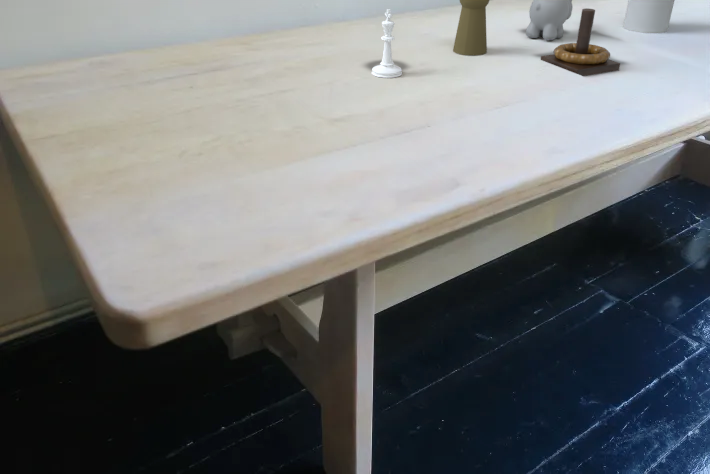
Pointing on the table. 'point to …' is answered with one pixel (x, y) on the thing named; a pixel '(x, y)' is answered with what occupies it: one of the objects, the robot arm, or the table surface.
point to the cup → (648, 16)
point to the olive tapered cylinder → (471, 28)
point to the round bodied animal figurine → (548, 18)
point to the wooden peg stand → (583, 50)
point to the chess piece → (387, 52)
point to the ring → (593, 57)
